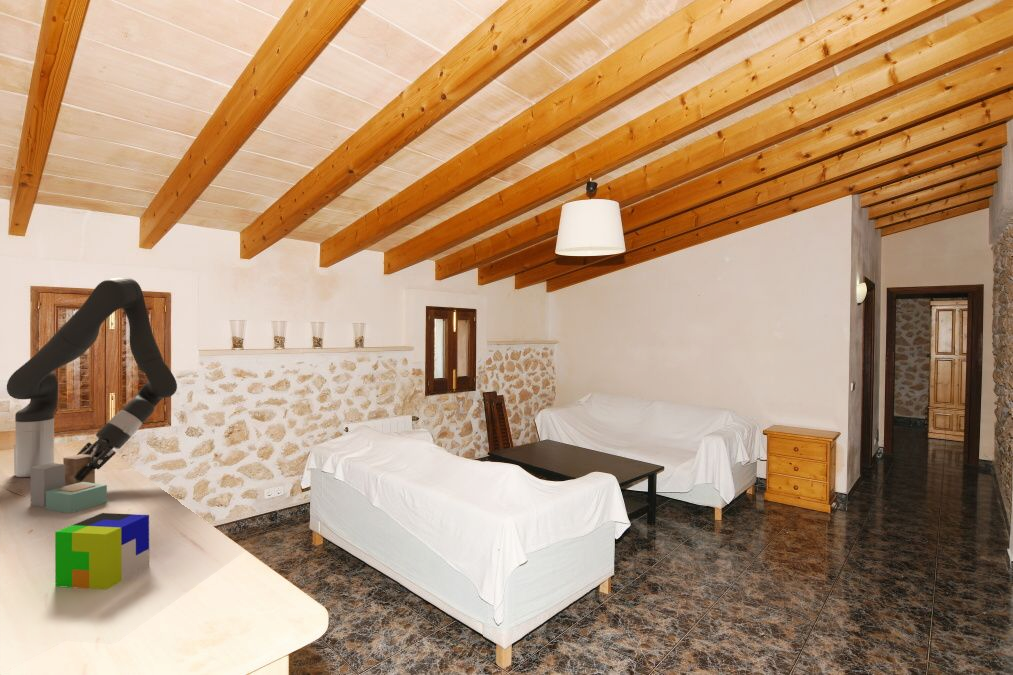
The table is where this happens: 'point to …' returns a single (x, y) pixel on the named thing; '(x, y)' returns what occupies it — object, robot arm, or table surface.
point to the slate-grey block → (45, 481)
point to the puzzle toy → (101, 550)
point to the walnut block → (77, 469)
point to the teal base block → (76, 497)
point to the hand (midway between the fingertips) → (72, 477)
